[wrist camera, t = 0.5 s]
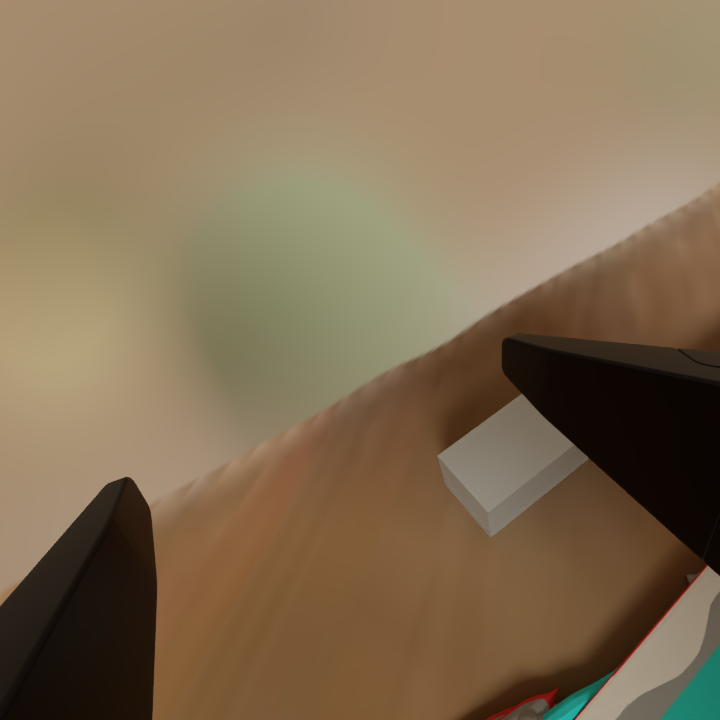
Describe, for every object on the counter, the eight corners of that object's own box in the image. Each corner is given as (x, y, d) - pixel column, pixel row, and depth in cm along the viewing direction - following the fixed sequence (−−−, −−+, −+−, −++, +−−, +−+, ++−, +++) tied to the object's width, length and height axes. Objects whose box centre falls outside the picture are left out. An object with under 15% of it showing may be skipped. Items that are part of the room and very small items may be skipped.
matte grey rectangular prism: (604, 447, 25) (617, 410, 22) (490, 539, 23) (488, 512, 20) (550, 406, 27) (555, 368, 24) (445, 485, 26) (437, 455, 23)
